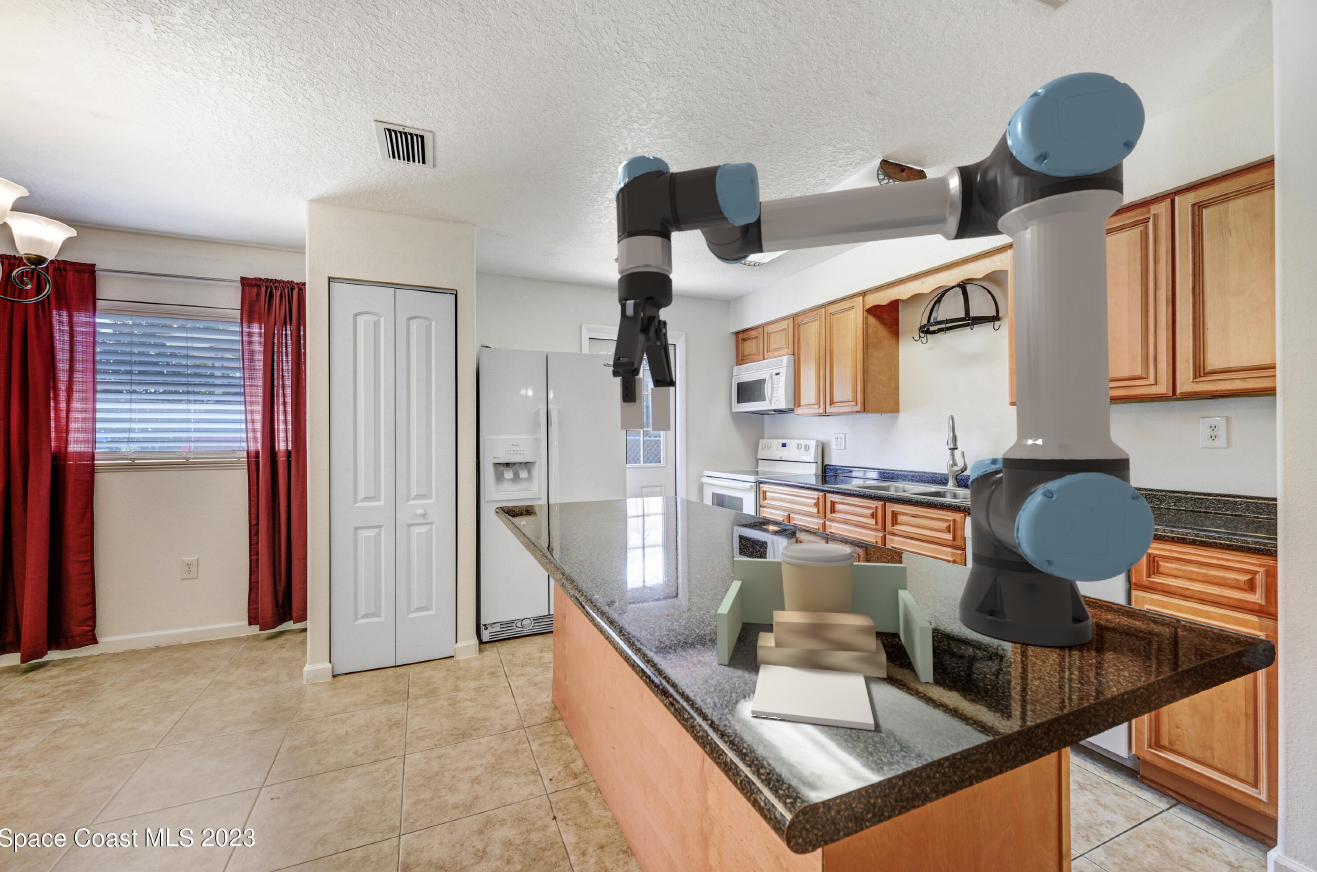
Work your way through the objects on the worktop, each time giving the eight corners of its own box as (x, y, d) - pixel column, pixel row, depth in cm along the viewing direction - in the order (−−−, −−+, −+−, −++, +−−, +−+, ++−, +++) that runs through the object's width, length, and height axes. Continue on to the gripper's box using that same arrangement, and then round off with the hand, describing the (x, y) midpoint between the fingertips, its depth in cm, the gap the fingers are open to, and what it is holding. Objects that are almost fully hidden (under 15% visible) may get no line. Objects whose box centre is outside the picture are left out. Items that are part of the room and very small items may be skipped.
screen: (906, 630, 75) (904, 564, 75) (933, 683, 59) (931, 598, 59) (735, 618, 81) (734, 557, 81) (717, 663, 65) (716, 587, 65)
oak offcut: (868, 639, 65) (867, 613, 65) (875, 651, 61) (875, 624, 61) (773, 635, 67) (773, 610, 67) (775, 647, 63) (774, 621, 63)
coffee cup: (825, 625, 78) (823, 540, 78) (873, 648, 69) (870, 552, 69) (767, 635, 74) (766, 545, 74) (810, 660, 65) (808, 559, 66)
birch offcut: (880, 665, 65) (880, 640, 65) (886, 681, 60) (886, 654, 61) (760, 656, 68) (759, 632, 68) (757, 671, 64) (757, 645, 64)
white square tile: (862, 678, 60) (862, 673, 60) (874, 730, 50) (874, 723, 50) (761, 669, 63) (760, 664, 63) (751, 716, 52) (751, 709, 53)
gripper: (645, 300, 89) (648, 431, 89) (583, 250, 65) (586, 429, 65) (691, 296, 87) (693, 430, 87) (643, 243, 63) (647, 428, 63)
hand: (647, 430), depth 76 cm, fingers open, 13 cm apart
